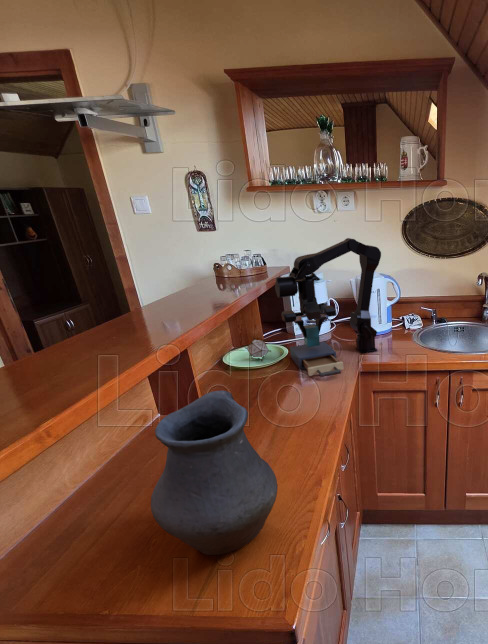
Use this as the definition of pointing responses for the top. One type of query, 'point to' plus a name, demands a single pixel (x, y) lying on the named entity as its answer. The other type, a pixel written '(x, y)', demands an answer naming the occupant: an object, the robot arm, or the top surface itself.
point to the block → (311, 335)
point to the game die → (257, 348)
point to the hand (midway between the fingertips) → (311, 336)
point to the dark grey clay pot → (212, 477)
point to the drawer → (323, 365)
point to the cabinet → (310, 352)
